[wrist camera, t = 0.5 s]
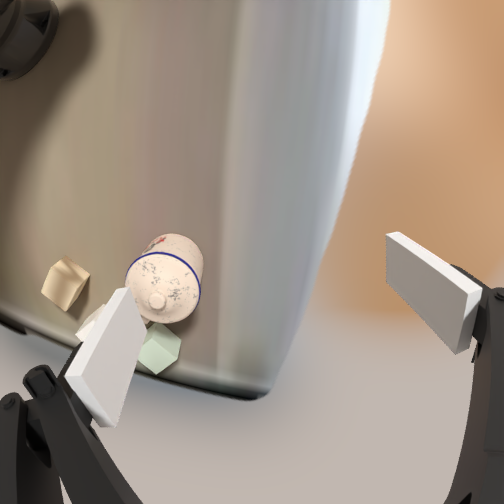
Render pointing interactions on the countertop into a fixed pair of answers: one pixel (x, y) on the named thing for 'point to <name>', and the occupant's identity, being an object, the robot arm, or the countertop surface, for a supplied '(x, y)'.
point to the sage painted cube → (159, 348)
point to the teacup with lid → (166, 279)
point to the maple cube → (64, 283)
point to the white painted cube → (89, 324)
